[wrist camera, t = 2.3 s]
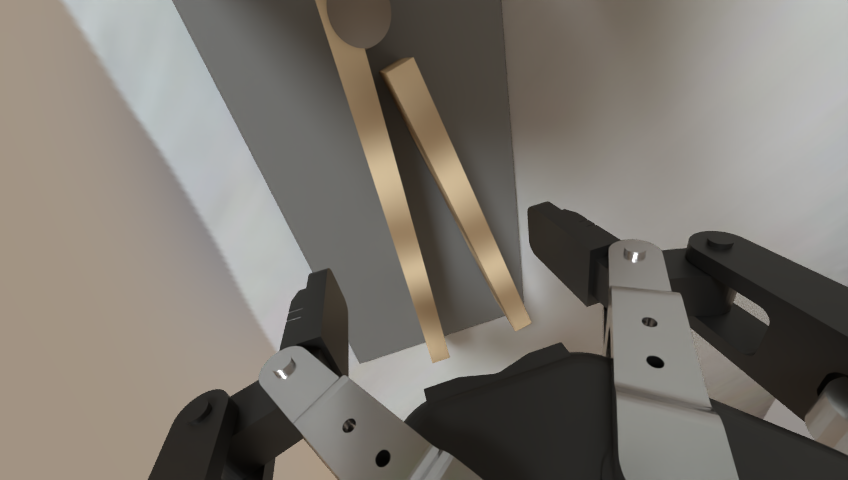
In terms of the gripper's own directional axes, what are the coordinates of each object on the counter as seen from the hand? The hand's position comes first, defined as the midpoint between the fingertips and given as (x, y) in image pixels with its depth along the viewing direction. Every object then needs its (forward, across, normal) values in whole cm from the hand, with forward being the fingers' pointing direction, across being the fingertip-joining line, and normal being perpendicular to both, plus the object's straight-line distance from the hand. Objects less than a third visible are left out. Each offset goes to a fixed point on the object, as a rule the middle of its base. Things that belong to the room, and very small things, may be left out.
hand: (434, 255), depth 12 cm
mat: (+11, 0, +2) cm, 11 cm away
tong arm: (+10, -4, +3) cm, 11 cm away
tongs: (+10, 0, +2) cm, 10 cm away
